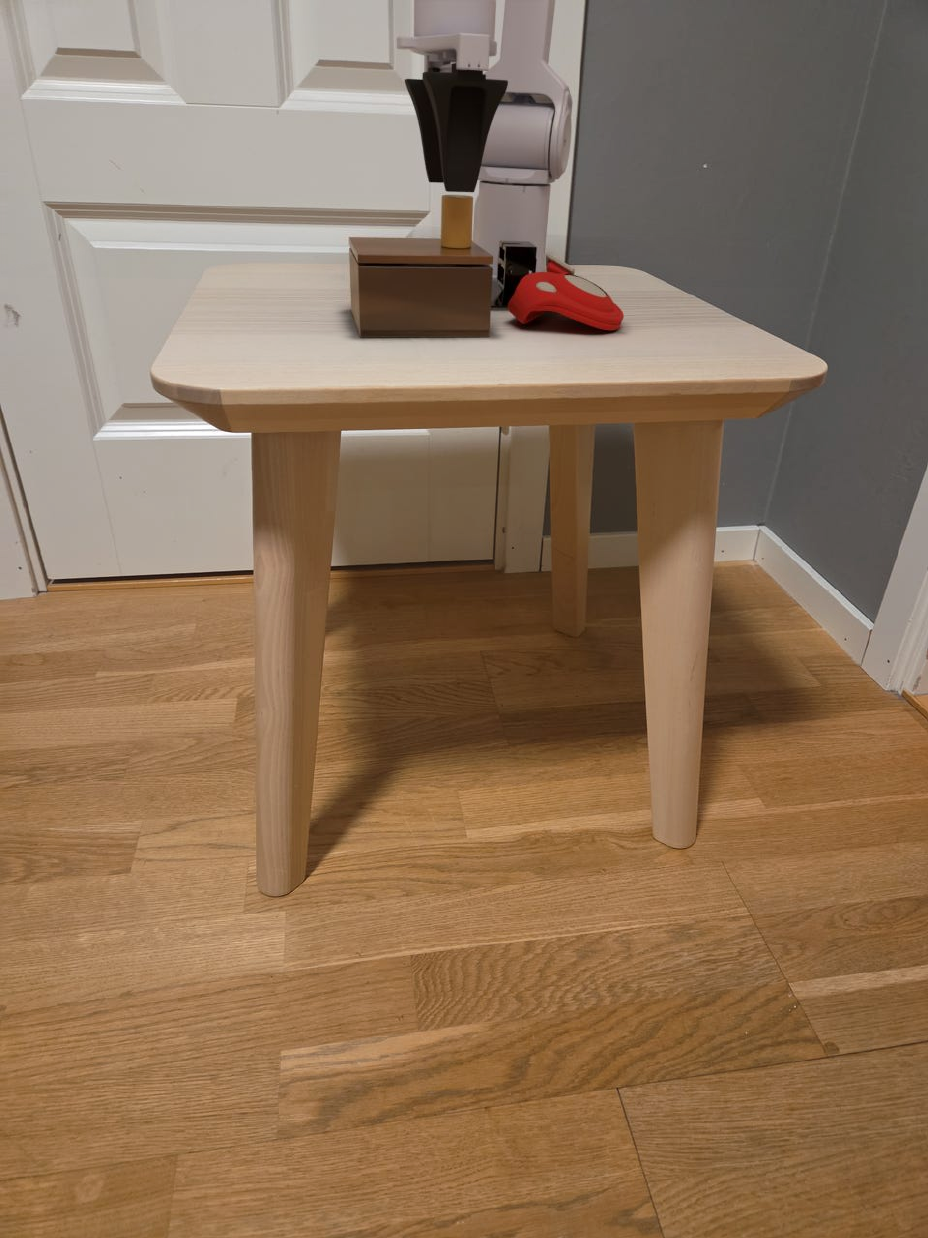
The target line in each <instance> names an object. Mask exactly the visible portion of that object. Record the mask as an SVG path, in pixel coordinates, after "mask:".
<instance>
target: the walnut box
mask: <svg viewBox="0 0 928 1238" xmlns="http://www.w3.org/2000/svg"><path fill="white" fill-rule="evenodd" d="M348 251H349V252H348V255H349V257H348V258H349V259H348V260H349V291H350V312H351V315H352V317H353V321H354V323H355V327H356V329H357V332H358V334H359V337H360V338H486V337H487V338H489V337H490V332H491V311H492V309H491V295H492V277H493V268H492V267H491V266H490V265H484V264H455V265H456V266H401V264H387V263H358V262H357V260H356V258H355V256H354V254H353V252H352V250H351V248H350V247H349V248H348Z"/></svg>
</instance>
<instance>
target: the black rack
mask: <svg viewBox="0 0 928 1238" xmlns="http://www.w3.org/2000/svg"><path fill="white" fill-rule="evenodd" d="M536 252H537V247H536V246H534V245H533V244H532V243H530V242H529V241H499V251H498V263H497V280H492V295H491V310H508V303H509V301H510V299H511V298H512V297H513V295H514V294H515V291H516V289H517V286H518V285H519V283H520V281H521V279H522V278H523V277H524V276H526V275H528V274H529V270H530V271H532V273H535V272H536V262H537V259H536ZM501 265H503V266H501Z"/></svg>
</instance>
